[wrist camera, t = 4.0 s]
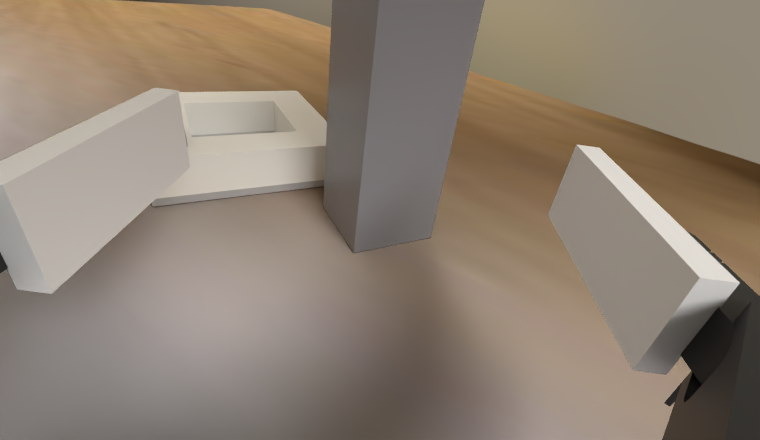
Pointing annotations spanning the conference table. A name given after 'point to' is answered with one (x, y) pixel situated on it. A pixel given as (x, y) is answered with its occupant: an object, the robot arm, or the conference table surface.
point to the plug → (393, 113)
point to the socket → (248, 145)
